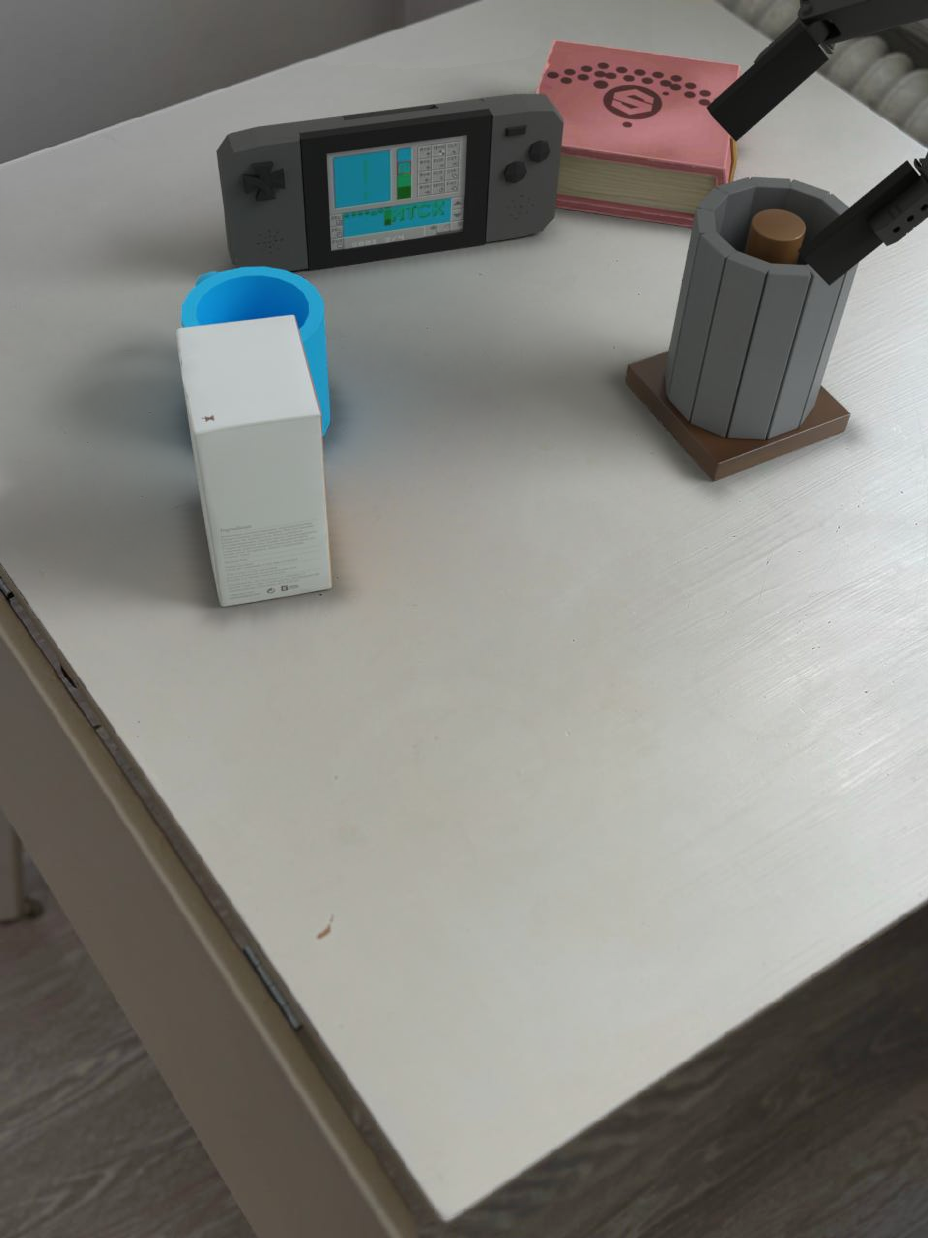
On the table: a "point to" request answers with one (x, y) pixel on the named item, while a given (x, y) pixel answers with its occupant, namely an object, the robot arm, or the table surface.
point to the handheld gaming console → (390, 182)
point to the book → (638, 131)
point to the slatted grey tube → (752, 315)
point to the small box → (257, 457)
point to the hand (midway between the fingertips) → (764, 193)
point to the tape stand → (721, 456)
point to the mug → (265, 311)
